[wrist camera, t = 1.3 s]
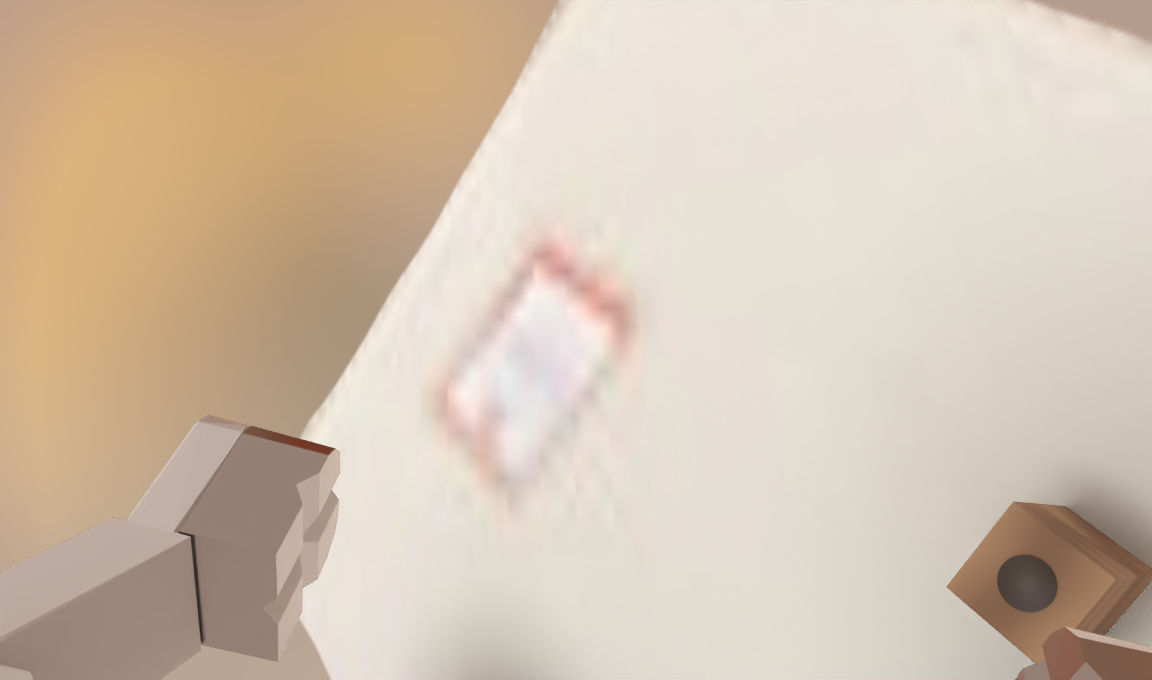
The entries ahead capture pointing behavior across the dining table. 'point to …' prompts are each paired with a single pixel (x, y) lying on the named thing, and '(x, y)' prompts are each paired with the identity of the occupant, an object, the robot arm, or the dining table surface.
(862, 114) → the dining table surface
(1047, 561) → the walnut block
